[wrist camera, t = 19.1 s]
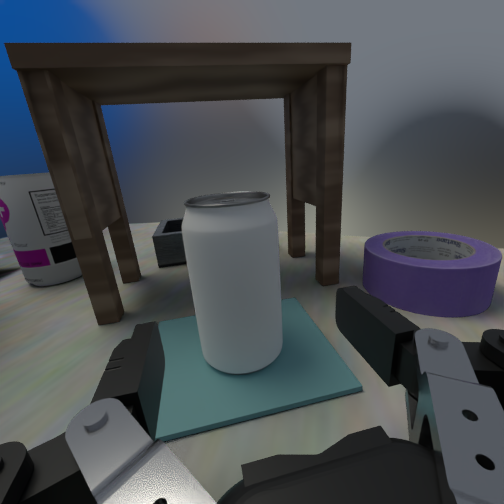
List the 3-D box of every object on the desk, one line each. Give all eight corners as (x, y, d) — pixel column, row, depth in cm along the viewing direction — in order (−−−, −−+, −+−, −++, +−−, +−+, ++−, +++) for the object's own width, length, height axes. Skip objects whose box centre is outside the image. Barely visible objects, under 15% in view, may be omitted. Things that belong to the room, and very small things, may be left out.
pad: (362, 390, 17) (362, 385, 17) (134, 449, 14) (133, 444, 14) (295, 300, 28) (295, 297, 28) (160, 325, 26) (159, 321, 25)
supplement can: (23, 294, 35) (-25, 178, 30) (32, 274, 42) (-6, 177, 37) (92, 276, 39) (60, 171, 34) (91, 261, 45) (63, 171, 40)
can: (268, 317, 25) (260, 188, 21) (296, 365, 19) (292, 197, 15) (199, 332, 23) (177, 196, 19) (206, 389, 17) (175, 211, 13)
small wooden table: (340, 285, 31) (351, 42, 23) (96, 328, 26) (4, 43, 18) (299, 250, 43) (296, 84, 35) (127, 276, 38) (79, 91, 30)
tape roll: (371, 313, 25) (375, 265, 23) (356, 266, 36) (358, 230, 34) (521, 323, 22) (539, 269, 20) (456, 268, 33) (464, 229, 31)
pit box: (271, 251, 43) (269, 222, 42) (158, 267, 40) (152, 236, 38) (255, 233, 54) (253, 209, 53) (166, 245, 51) (161, 220, 50)
